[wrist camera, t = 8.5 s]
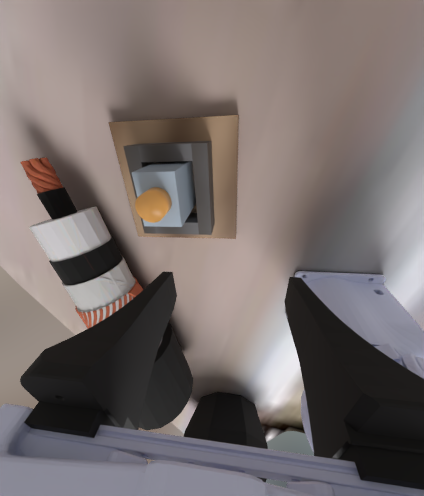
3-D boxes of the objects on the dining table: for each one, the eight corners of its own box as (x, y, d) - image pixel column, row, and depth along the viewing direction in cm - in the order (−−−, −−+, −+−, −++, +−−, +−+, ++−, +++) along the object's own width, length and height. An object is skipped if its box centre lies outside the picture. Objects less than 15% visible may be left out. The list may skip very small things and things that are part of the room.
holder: (238, 115, 16) (237, 113, 14) (236, 234, 22) (235, 251, 19) (114, 122, 18) (89, 121, 15) (142, 232, 24) (127, 247, 21)
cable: (101, 153, 24) (74, 136, 15) (186, 351, 37) (200, 407, 28) (7, 176, 22) (-92, 173, 13) (131, 376, 35) (126, 446, 26)
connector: (192, 159, 18) (167, 176, 12) (196, 203, 20) (176, 236, 14) (160, 160, 18) (119, 177, 12) (166, 203, 20) (135, 235, 14)
